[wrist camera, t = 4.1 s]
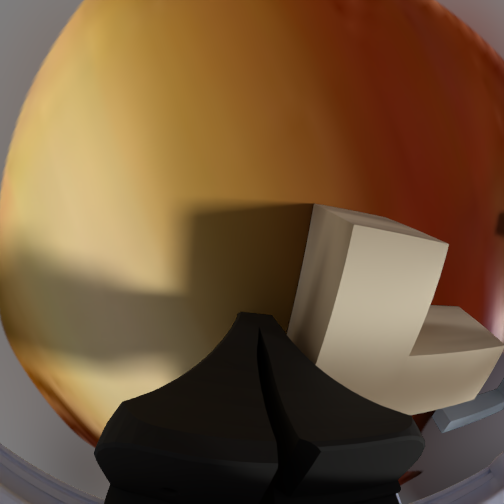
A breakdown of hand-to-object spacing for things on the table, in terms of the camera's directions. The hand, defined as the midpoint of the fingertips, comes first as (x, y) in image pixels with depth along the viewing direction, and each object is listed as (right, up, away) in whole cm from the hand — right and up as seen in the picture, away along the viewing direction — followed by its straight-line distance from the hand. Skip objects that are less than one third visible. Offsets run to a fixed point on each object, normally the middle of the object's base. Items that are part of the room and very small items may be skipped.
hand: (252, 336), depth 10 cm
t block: (+5, 0, +1) cm, 6 cm away
